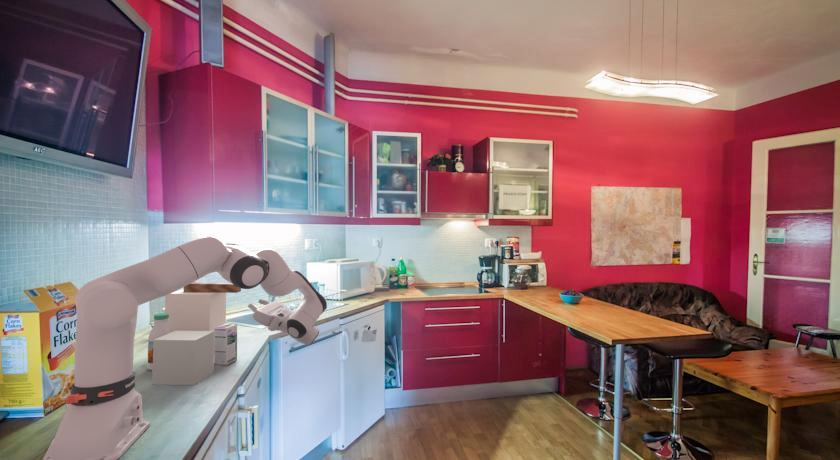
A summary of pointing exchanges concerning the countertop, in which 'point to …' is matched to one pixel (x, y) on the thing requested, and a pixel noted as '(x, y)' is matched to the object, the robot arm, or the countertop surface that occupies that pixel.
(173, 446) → the countertop surface
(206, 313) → the white box
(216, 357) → the syrup box
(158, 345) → the box
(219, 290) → the walnut rail
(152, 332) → the milk bottle
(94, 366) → the robot arm
